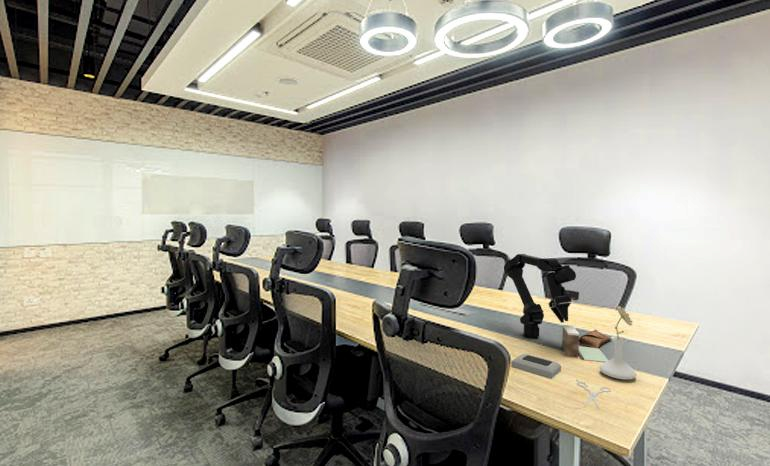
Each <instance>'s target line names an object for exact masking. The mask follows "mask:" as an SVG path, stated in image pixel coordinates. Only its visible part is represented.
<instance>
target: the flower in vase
mask: <svg viewBox="0 0 770 466" xmlns="http://www.w3.org/2000/svg"><path fill="white" fill-rule="evenodd" d="M616 310H617V312H618V314H619V316H620V318H619V319H618V321H617V323H616V325H614V329H615V330H616V335H612V336H610V338H611V340H612V342H613V346H614V355H613V357H612V358H610V359H608V361H606V362H602V363H601V364H600V365H599V368H598V369H599V370H600V371H601V373H603V374H604V375H606V376H608V377H611V378H613V379H614V378H615V379H617V380H633V379H635V378H636V377H637V372H636V371H635V369H634V368H632V366H631V365H629V364H628V363H627V362H626V361H625V360H624V359H623V348H624V344H625V343H626V342H627V341H628V339H627V338H625V337H623V336H619V335H620V334H622V333H625V331H624V330H622V331H619V330H618V325H619V323H620V321H621V320H623V321H624V322H625V323H626V324H627V325H628V326H629V327H630V326H631V327H632V326H634V324H633V320H632V319H631V317H630V315H629V313H627V311H626V310H625V308H624V307H621V306H620V305H619V306H616Z"/></svg>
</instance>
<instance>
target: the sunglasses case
mask: <svg viewBox="0 0 770 466" xmlns="http://www.w3.org/2000/svg"><path fill="white" fill-rule="evenodd" d="M611 340H612V339H611V337H609V336H607V335H605V334H603V333H601V332H600V331H598V330H597V329H594V330H592V331H590V332H588V333H586V334H584V335H581V336H579V345H580V346H583V347H590V348H600V347H601V346H602V345H604V344H606V343H608V342H610V341H611Z"/></svg>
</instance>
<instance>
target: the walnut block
mask: <svg viewBox="0 0 770 466" xmlns="http://www.w3.org/2000/svg"><path fill="white" fill-rule="evenodd" d="M561 338H562V339H561V340H562V341H561V347H562V349H563V351H564V354H565V355H566V357H568V358H577V359H578V358H579V355H578V351H579V346H580V343H579V338H580V333H579V331H577V329H576V328H575V326H574V325H571V324H569V325H568V324H563V325H562V337H561Z"/></svg>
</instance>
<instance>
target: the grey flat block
mask: <svg viewBox="0 0 770 466" xmlns="http://www.w3.org/2000/svg"><path fill="white" fill-rule="evenodd" d="M510 367H512V368H515V369H519V370H522V371H525V372H527V373H531V374H536V375H538V376H541V377H546V378H548V379H551V380H552V379H553V378H555V377H556V376H557V375H558V374H559V373H560V372H561V371H562V366H561V364H560V363H558V362H557V361H553V360H550V359H547V358H543V357H538V356H535V355H531V354H528V353H522V354H520V355H519V356H517V357H516V358H514V359H513V360H511V361H510ZM555 375H556V376H555Z"/></svg>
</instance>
